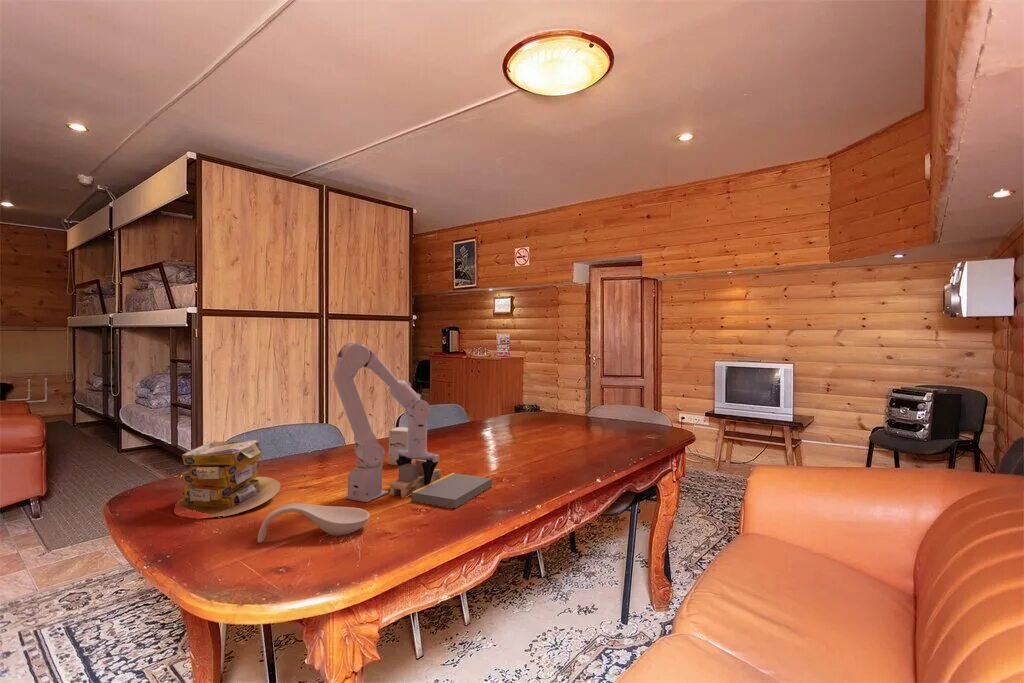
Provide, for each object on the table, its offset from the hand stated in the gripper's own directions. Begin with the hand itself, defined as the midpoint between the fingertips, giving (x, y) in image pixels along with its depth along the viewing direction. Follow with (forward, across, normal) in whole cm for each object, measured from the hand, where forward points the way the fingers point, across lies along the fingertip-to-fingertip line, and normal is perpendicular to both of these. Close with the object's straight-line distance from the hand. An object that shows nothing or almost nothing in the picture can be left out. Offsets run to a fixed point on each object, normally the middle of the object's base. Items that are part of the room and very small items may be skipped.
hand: (416, 483), depth 145 cm
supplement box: (+2, +22, -22) cm, 31 cm away
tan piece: (+2, 0, 0) cm, 2 cm away
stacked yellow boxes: (+2, +38, +33) cm, 50 cm away
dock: (+1, -13, 0) cm, 13 cm away
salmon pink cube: (-2, 0, -4) cm, 5 cm away
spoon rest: (+2, 0, +39) cm, 39 cm away
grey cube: (-2, 0, +4) cm, 5 cm away
